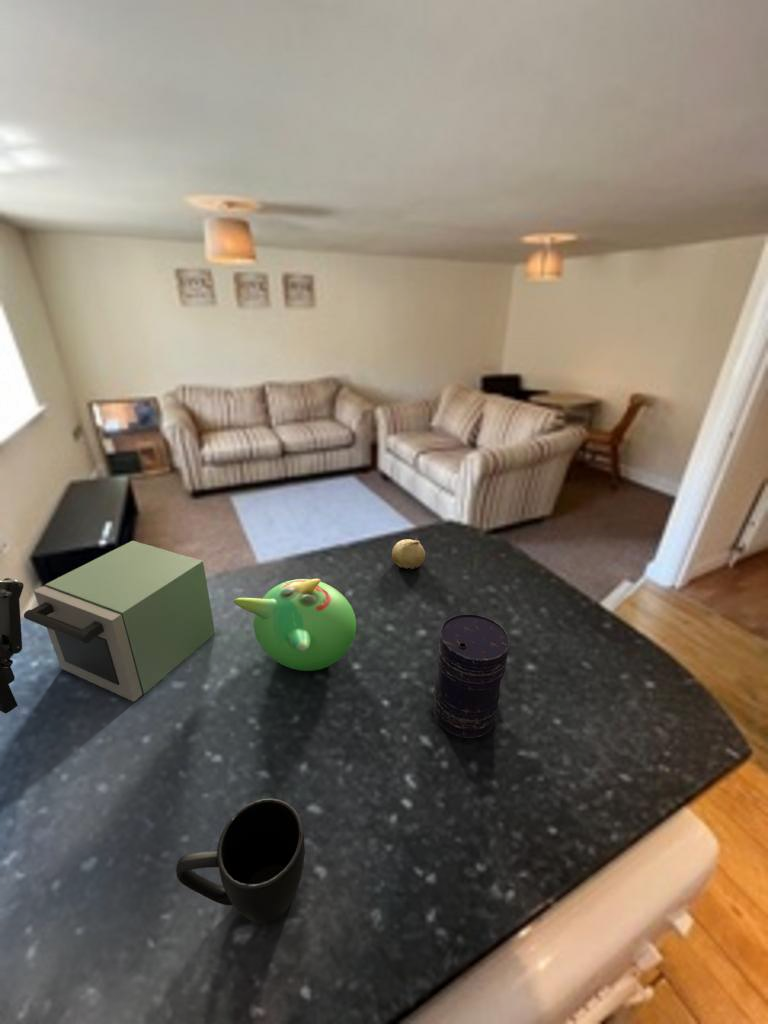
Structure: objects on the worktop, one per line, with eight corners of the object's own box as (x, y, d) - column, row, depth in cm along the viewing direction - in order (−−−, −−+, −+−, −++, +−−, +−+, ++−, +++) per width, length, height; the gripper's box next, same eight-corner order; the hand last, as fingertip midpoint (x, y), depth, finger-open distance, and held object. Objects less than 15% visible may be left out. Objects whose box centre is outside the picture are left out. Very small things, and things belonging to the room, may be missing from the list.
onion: (406, 577, 104) (408, 550, 101) (384, 563, 109) (385, 537, 106) (431, 566, 109) (433, 540, 106) (408, 553, 114) (410, 528, 111)
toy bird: (373, 648, 82) (374, 581, 76) (310, 711, 69) (306, 636, 63) (300, 613, 91) (296, 550, 85) (233, 662, 78) (222, 592, 72)
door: (115, 717, 67) (90, 634, 60) (41, 681, 73) (10, 602, 66) (142, 694, 71) (121, 614, 64) (70, 662, 77) (44, 585, 70)
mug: (197, 864, 50) (183, 811, 46) (306, 843, 52) (302, 791, 48) (182, 960, 43) (163, 907, 39) (309, 932, 45) (304, 879, 41)
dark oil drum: (458, 677, 76) (467, 605, 70) (508, 711, 70) (523, 636, 64) (419, 709, 70) (425, 634, 64) (471, 751, 64) (483, 672, 57)
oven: (144, 694, 71) (122, 612, 64) (71, 662, 77) (44, 584, 70) (215, 633, 85) (203, 560, 78) (149, 609, 90) (132, 540, 84)
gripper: (-123, 594, 43) (-34, 757, 53) (19, 536, 54) (71, 681, 64) (-163, 576, 46) (-71, 735, 56) (-19, 524, 57) (36, 665, 67)
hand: (5, 706), depth 60 cm, fingers closed
